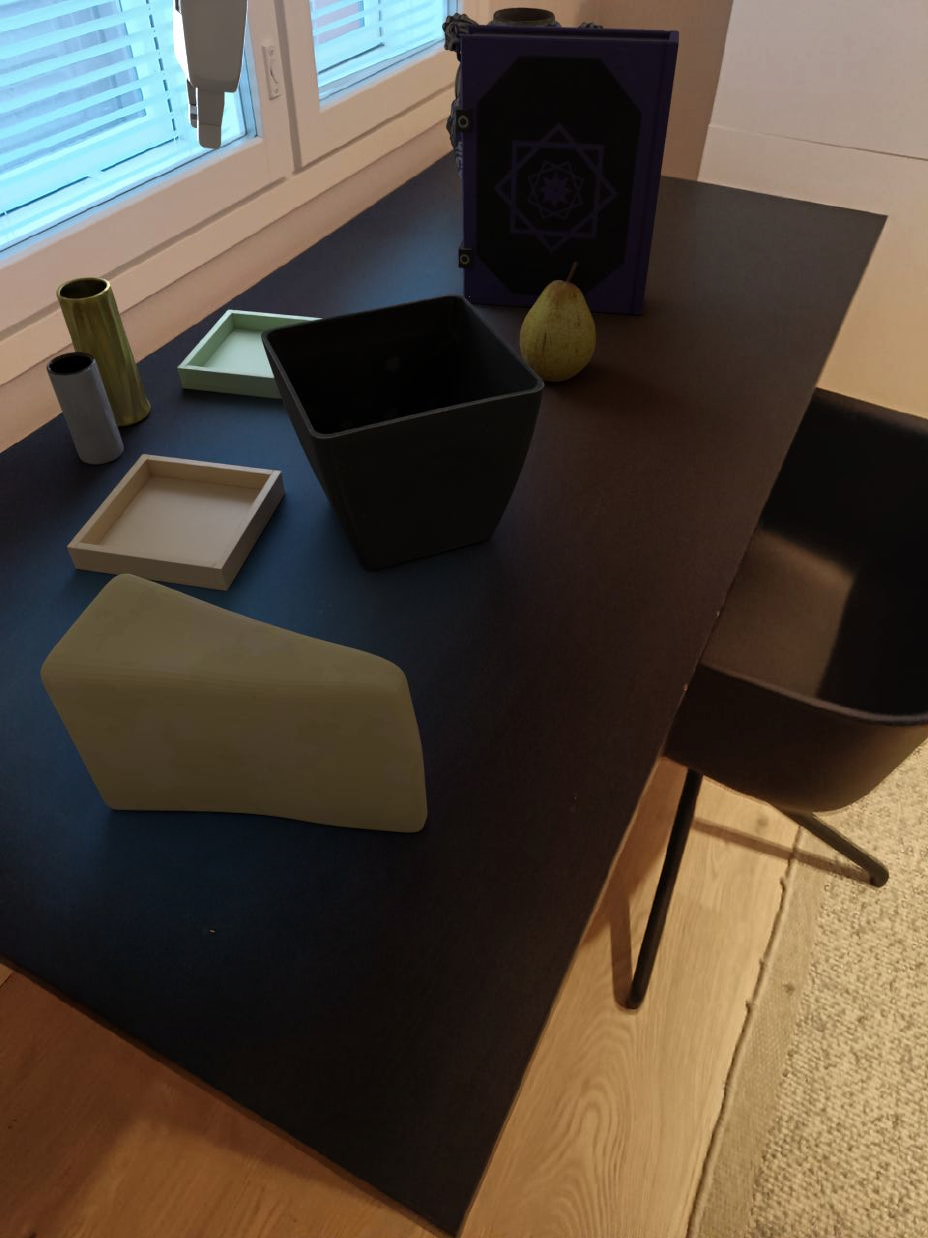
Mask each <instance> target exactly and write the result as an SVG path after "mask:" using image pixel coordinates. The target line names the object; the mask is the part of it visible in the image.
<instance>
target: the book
mask: <svg viewBox="0 0 928 1238" xmlns="http://www.w3.org/2000/svg"><path fill="white" fill-rule="evenodd" d="M679 46H680V31H679V30H676V29H675V30H674V29H673V30H672V29H670V30H664V29H642V28H641V29H640V28H637V29H636V28H607V27H606V28H605V27H603V28H577V27H574V26H573V27H572V26H562V27H541V26H506V25H487V24H479V25H472V24H468V34H461V52H460V53H461V103H460V104H459V106H458V108H457V109H456V123H457V132H459V133H462V183H461V192H462V194H461V195H462V196H461V197H462V198H461V199H462V200H461V201H462V202H461V203H462V205H461V206H462V208H461V209H462V240H461V242H460V245H459V247H458V250H457V251H458V254H457V255H458V257H457V258H458V268H459V269H462V283H463V286H462V289H463V291H462V293H463V294H462V296H464V297H465V298H466V299H467V300H468V301H469V302H470V304H475V305H488V306H489V305H490V306H501V307H502V306H504V307H517V308H519V307H520V308H530V309H531V308H532V307H533V305H534V304H535V302H536V301H537V300H538V298H539V297H540V295H541V294H542V292H543V291H544V289H545V288H546V287H547V286H548V285H549V284H550V283H552V282H553V281H556V280H561V281H565V282H566V280H567V278H568V276H569V274H570V272H571V269H572V266H573V263H574V262H578V263H579V264H578V266H577V267H576V270H575V273H574V275H573V276H572V278H571V280H570V283H572V284H574V285H575V286H577V287H578V288H579V289H580V291H581V292H582V294H583V297H584V299H585V301H586V304H587V306H588V308H589V310H590V313H601V314H602V313H603V314H616V315H617V314H618V315H631V314H632V315H634V316H642V314H643V309H644V300H645V293H646V287H647V280H648V272H649V265H650V258H651V257H650V256H651V252H652V251H651V250H652V244H653V235H654V229H655V222H656V221H655V220H656V214H657V206H658V198H659V191H660V184H661V177H662V169H663V163H664V155H665V147H666V140H667V133H668V126H669V118H670V111H671V104H672V97H673V90H674V83H675V74H676V67H677V59H678V52H679ZM469 296H470V297H469Z"/></svg>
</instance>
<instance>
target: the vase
mask: <svg viewBox="0 0 928 1238" xmlns="http://www.w3.org/2000/svg"><path fill="white" fill-rule="evenodd" d="M55 295H56V298H57V301H58V304H59V307H60V310H61V313H62V316H63V319H64V322H65V325H66V328H67V331H68V333H69V336H70V339H71V342H72V346H73V350H74V352H84V353H88V354H90V355H92V356H93V357H94V358H95V361H96V364H97V367H98V370H99V373H100V376H101V379H102V382H103V385H104V388H105V391H106V394H107V397H108V400H109V403H110V406H111V409H112V412H113V415H114V418H115V421H116V424H117V427H118V428H122V427H127V426H132V425H135V424H137V423H139V422H141V421H142V420H144V419H146V417H147V416H148V415H149V413H150V411H151V409H152V405H151V402H150V401H149V400H148V398H147V396H146V393H145V389H144V384H143V381H142V377H141V375H140V372H139V369H138V365H137V363H136V359H135V357H134V353H133V351H132V347H131V345H130V342H129V339H128V336H127V333H126V332H127V331H126V329H125V326H124V323H123V321H122V318H121V314H120V311H119V307H118V304H117V301H116V297H115V295H114V292H113V289H112V286H111V283H110V282H109V280H107V279H105V278H102V277H97V276H84V277H77V278H74V279H73V278H72V279H69V280H68V281H65V282H63V283H62V284H61V285H59V286H58V287H57V289H56V291H55Z"/></svg>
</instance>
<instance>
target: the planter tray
mask: <svg viewBox="0 0 928 1238" xmlns="http://www.w3.org/2000/svg"><path fill="white" fill-rule="evenodd" d="M282 471H283V470H277V469H276V470H275V469H274V470H273V469H267V468H259V467H252V466H251V467H250V466H242V465H233V464H226V463H220V462H219V463H218V462H211V461H210V462H209V461H204V460H195V459H186V458H179V457H171V456H170V457H169V456H161V455H154V454H145V453H142V454H141V456H140V457H139V458H138V459H137V460H136V462H135V463H134V464H133V465H132V467H130V469H129V470H128V471H127V472H126V474H125V475H124V476H123V477H122V479H121V480H120V481H119V482H118V483H117V485H116V486H115V487H114V488H113V490H112V491H111V492H110V493H109V494H108V496H107V497H106V498H105V500H104V501H103V502H102V503H101V504H100V505H99V506H98V507H97V509H96V510H95V511H94V513H93V514H92V515H91V516H90V518H89V519H88V520H87V522H86V523H85V524H84V525H83V526H82V528H81V529H80V530H79V531H78V533H76V534H75V536H74V537H73V539H72V540H71V541H70V542H69V543H68V545H66V549H67V551H68V554H69V556H70V558H71V561H72V563H73V565H74V569H76V570H83V571H89V572H95V573H101V574H102V573H103V574H108V575H109V574H110V575H116V576H118V575H120V574H132V575H135V576H138V577H141V578H144V579H147V580H149V581H156V582H163V583H170V584H176V585H184V586H190V587H196V588H204V589H209V590H218V591H223V592H224V591H225V592H228V591H229V588H230V587H231V585H232V584H233V582H234V580H235V579H236V577H237V575H238V573H239V572H240V570H241V568H242V566H243V565H244V563H245V562H246V560H247V558H248V556H249V555H250V553H251V552H252V549H253V548H254V546H255V545H256V542H257V541H258V539H259V538H260V536H261V535H262V533H263V531H264V529H265V528H266V526H267V525H268V523H269V521H270V520H271V518H272V516H273V514H274V513H275V511H276V509H277V507H278V506H279V504H280V503H281V501H282V499H283V497H284V496H285V494H286V489H285V482H284V477H283V472H282Z"/></svg>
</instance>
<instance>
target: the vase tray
mask: <svg viewBox="0 0 928 1238" xmlns="http://www.w3.org/2000/svg"><path fill="white" fill-rule="evenodd" d="M318 319H323V318H320V317H311V316H299V315H290V314H289V315H288V314H277V313H269V312H259V311H257V312H256V311H246V310H237V309H234V310H233V309H227V310H226V311H225V313H223V315H222V316H221V317H220V318H219V320H217V322H216V323H215V324H214V325H213V326H212V328H211V329H210V330H209V331H208V332H207V333H206V334H205V336H204V337H203V338H202V339H201V340H200V341H199V343H197V344H196V346H195V347H194V348H193V349H192V350H191V352H190V353H189V354H188V355H187V356H186V357H185V358H184V360H182V362H181V363H180V364H179V365H178V366H177V367H176V368H177V373H178V377H179V380H180V383H181V387H182V389H186V390H187V389H188V390H195V391H207V392H215V393H223V394H231V395H241V396H251V397H259V398H268V399H277V400H282V398H281V395H280V392H279V390H278V387H277V384H276V381H275V379H274V376H273V373H272V370H271V367H270V364H269V361H268V358H267V355H266V352H265V349H264V346H263V342H262V339H261V334H262V333H263V332H264V331H266V330H269V329H273V328H277V327H282V326H287V325H292V324H297V323H302V322H307V321H313V320H318Z"/></svg>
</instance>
